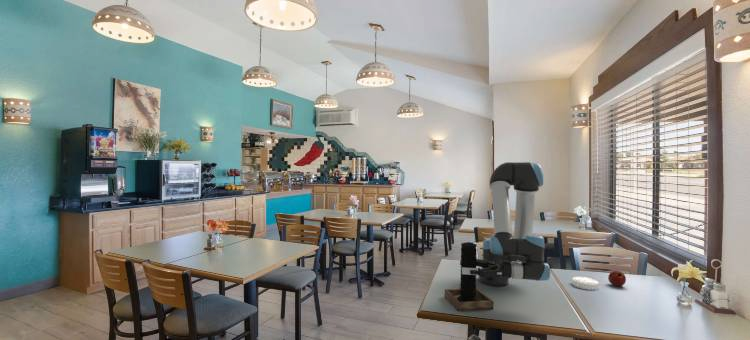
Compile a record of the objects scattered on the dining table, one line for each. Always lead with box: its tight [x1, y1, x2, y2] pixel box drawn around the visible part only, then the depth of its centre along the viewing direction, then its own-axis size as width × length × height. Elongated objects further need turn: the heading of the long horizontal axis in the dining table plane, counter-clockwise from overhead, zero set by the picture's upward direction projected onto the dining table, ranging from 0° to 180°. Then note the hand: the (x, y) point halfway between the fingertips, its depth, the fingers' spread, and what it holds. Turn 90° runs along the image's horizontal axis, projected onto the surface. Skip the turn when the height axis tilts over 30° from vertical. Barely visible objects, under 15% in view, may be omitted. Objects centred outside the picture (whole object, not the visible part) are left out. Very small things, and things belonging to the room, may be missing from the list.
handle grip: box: [457, 241, 479, 302], centre depth 155 cm, size 10×26×10 cm
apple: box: [607, 270, 627, 287], centre depth 180 cm, size 7×8×8 cm
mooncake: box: [571, 276, 600, 291], centre depth 179 cm, size 12×12×4 cm
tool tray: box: [444, 287, 494, 312], centre depth 155 cm, size 16×16×4 cm
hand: (460, 266), depth 155 cm, fingers open, 13 cm apart
